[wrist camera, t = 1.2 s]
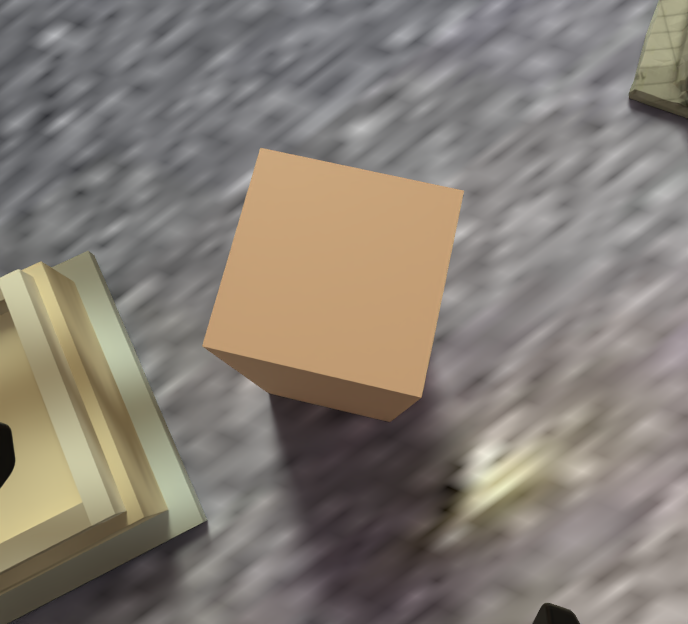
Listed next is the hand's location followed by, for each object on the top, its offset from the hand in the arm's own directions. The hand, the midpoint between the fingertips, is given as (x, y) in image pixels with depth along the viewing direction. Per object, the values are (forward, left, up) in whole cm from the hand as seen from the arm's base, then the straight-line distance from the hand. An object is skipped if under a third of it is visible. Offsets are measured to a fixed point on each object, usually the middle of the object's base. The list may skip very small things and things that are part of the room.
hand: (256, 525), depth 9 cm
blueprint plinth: (-2, +12, -14) cm, 19 cm away
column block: (+5, 0, -14) cm, 15 cm away
